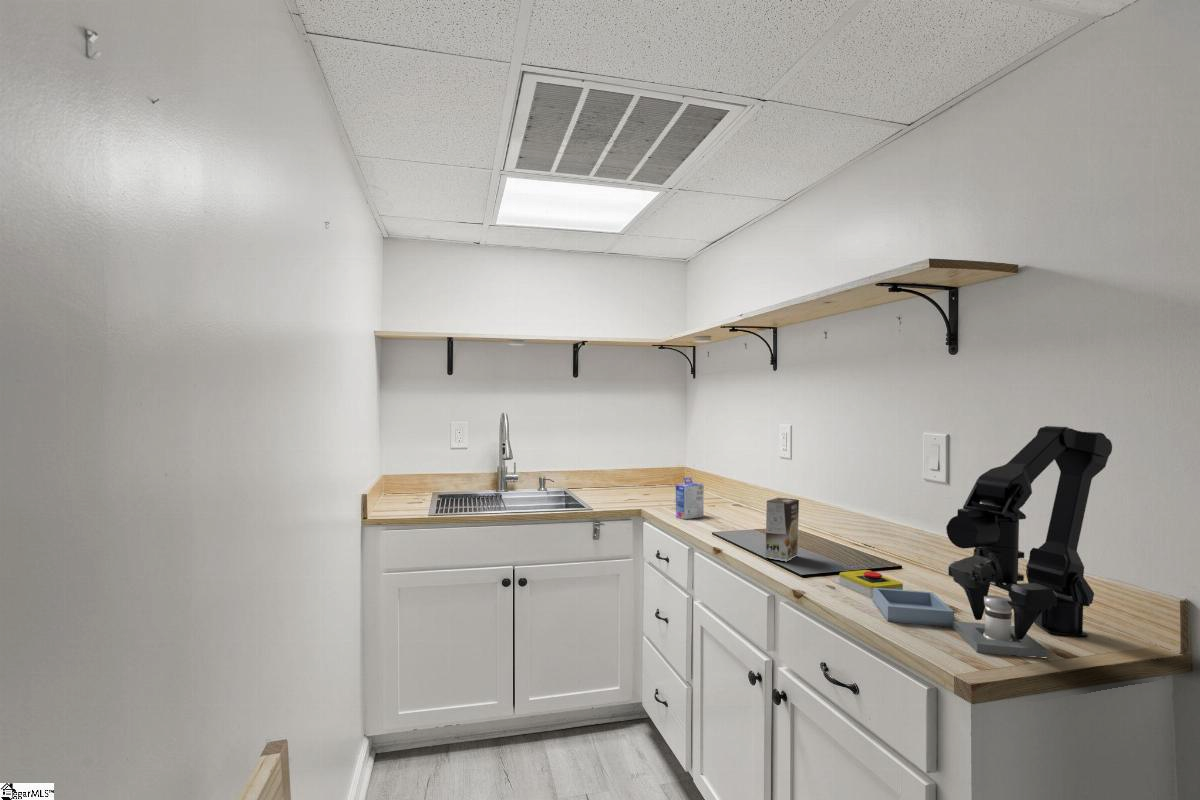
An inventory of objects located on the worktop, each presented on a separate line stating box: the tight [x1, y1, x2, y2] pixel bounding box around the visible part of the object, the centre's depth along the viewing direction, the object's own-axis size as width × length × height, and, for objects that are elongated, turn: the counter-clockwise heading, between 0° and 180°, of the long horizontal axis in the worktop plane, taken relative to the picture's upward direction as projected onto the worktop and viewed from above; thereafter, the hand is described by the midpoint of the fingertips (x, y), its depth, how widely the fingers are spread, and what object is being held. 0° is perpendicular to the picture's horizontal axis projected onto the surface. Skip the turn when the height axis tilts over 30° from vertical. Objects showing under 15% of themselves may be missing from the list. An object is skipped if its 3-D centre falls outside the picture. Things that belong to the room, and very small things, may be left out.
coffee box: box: [764, 497, 800, 560], centre depth 165 cm, size 9×6×16 cm
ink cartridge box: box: [675, 477, 705, 520], centre depth 220 cm, size 10×6×14 cm, turn 124°
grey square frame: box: [952, 620, 1049, 658], centre depth 108 cm, size 11×11×2 cm
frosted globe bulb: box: [983, 594, 1013, 641], centre depth 108 cm, size 4×4×8 cm
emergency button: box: [832, 569, 904, 600], centre depth 139 cm, size 9×4×15 cm
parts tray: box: [872, 588, 955, 628], centre depth 123 cm, size 12×12×3 cm
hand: (997, 629), depth 108 cm, fingers open, 9 cm apart
